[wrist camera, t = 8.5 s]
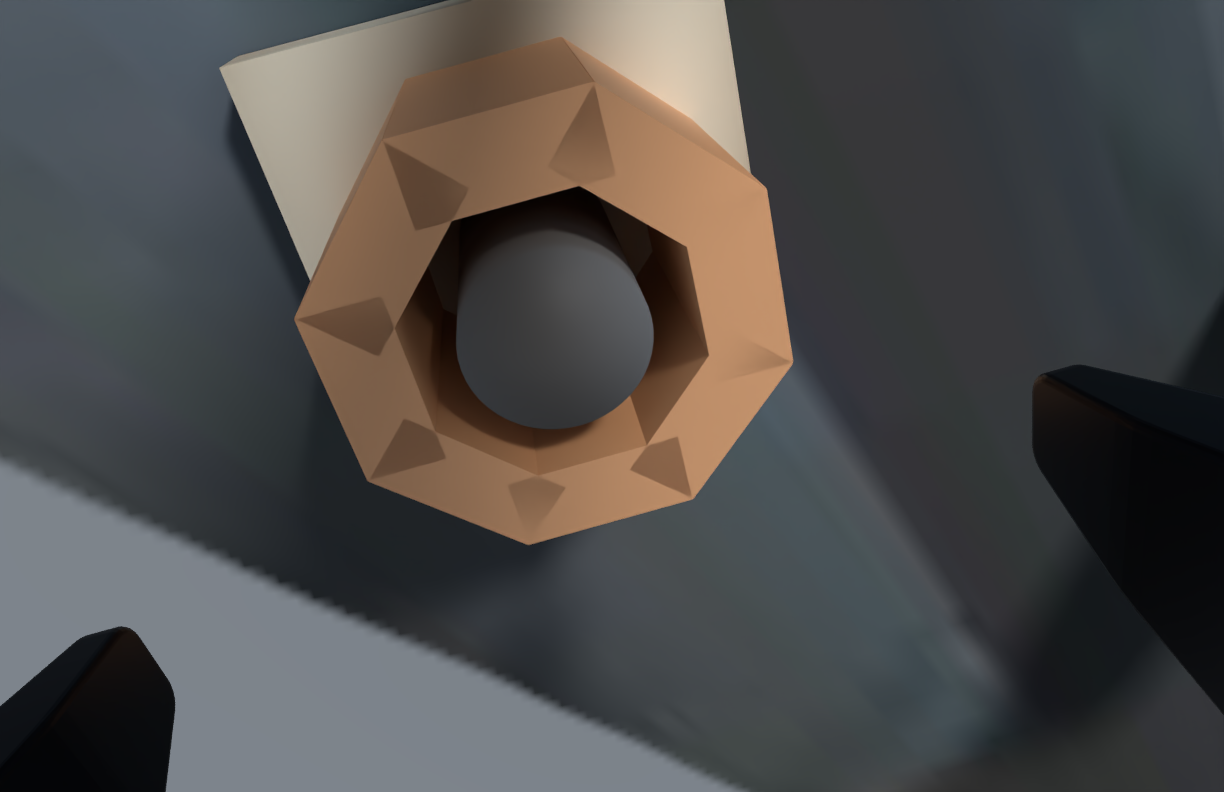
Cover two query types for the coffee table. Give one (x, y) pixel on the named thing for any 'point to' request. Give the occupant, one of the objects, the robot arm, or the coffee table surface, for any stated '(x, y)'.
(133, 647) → the robot arm
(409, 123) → the ring
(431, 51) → the shaft block
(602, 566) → the coffee table surface
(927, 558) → the coffee table surface
